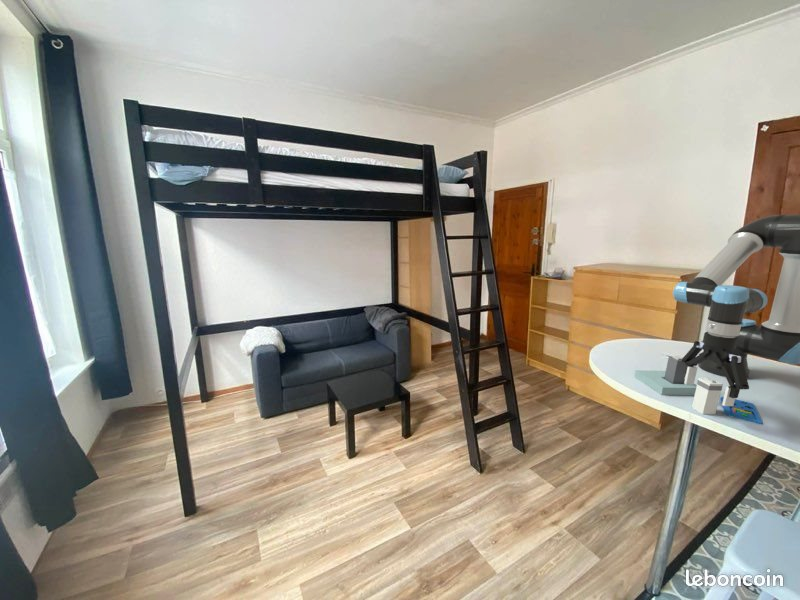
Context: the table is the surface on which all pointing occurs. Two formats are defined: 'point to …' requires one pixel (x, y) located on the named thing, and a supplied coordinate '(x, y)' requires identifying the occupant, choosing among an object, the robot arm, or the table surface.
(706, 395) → the block
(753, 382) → the table surface
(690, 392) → the outlet plate
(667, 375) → the plug
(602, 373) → the table surface
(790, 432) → the table surface
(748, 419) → the handheld gaming device
